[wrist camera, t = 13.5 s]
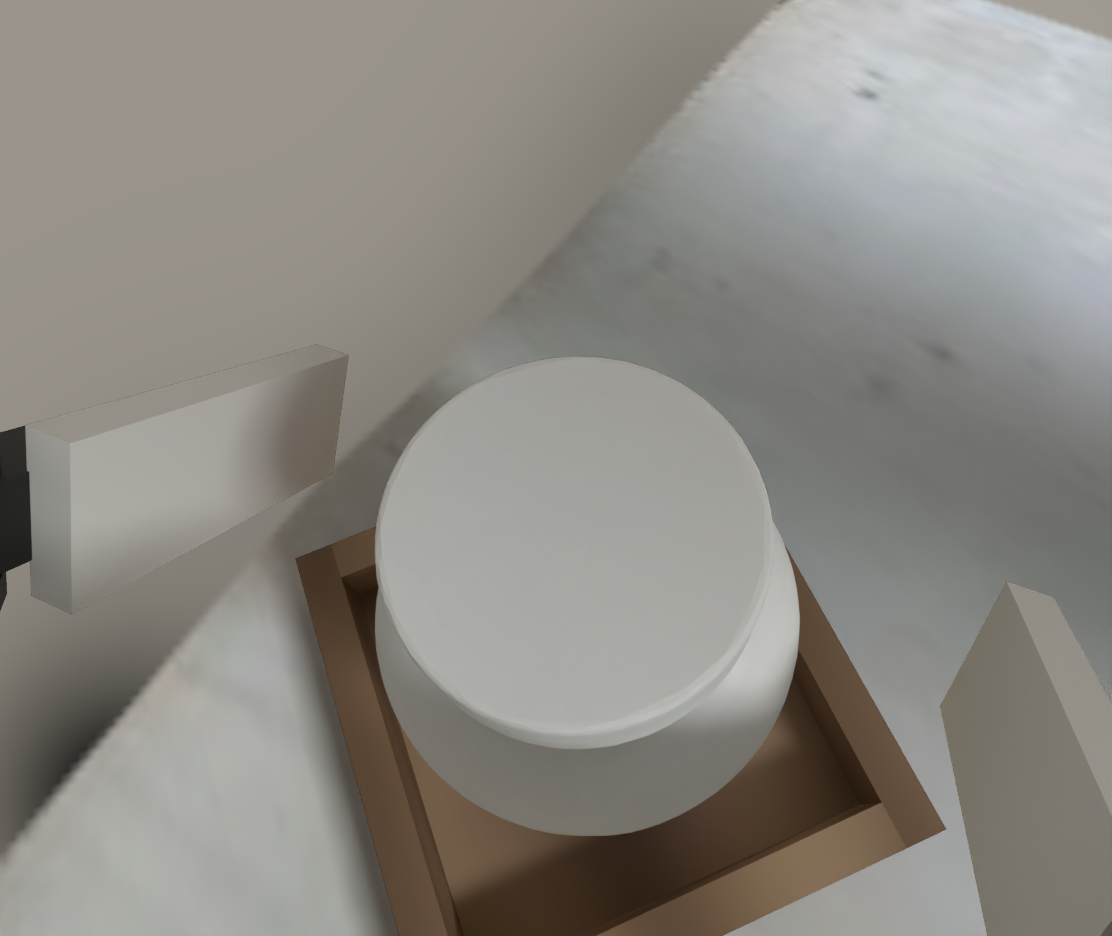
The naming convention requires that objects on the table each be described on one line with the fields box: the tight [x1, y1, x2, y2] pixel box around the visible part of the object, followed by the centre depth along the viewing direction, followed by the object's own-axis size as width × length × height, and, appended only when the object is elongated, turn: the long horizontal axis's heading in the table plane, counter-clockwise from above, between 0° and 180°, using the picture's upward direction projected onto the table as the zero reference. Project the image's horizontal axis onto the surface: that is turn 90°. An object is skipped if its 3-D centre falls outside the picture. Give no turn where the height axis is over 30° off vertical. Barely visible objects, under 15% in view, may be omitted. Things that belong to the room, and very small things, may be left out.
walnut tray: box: [296, 527, 946, 936], centre depth 20 cm, size 12×12×2 cm
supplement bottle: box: [375, 356, 800, 836], centre depth 15 cm, size 7×7×13 cm
